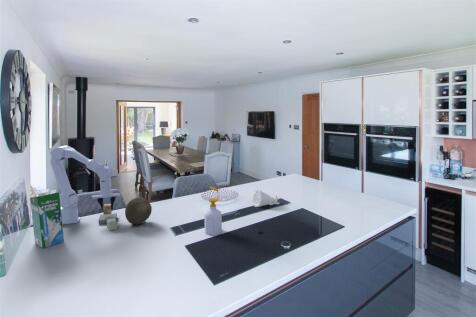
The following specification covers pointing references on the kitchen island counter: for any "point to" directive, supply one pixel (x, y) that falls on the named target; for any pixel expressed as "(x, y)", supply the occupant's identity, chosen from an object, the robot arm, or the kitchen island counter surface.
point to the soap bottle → (213, 218)
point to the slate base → (104, 217)
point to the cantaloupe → (138, 211)
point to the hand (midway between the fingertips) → (107, 210)
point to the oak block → (107, 209)
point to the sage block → (111, 224)
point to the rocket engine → (263, 199)
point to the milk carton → (47, 219)
